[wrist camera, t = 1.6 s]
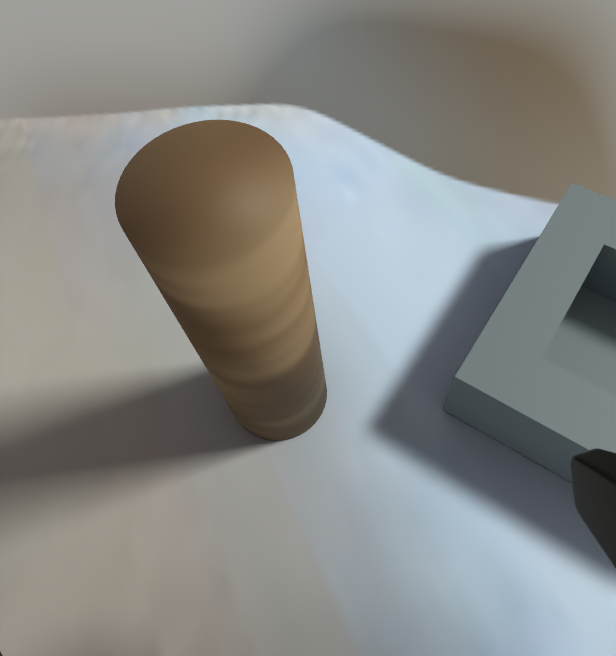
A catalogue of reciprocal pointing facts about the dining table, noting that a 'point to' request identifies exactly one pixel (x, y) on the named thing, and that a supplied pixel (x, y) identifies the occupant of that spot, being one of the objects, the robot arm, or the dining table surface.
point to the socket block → (551, 344)
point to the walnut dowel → (231, 266)
